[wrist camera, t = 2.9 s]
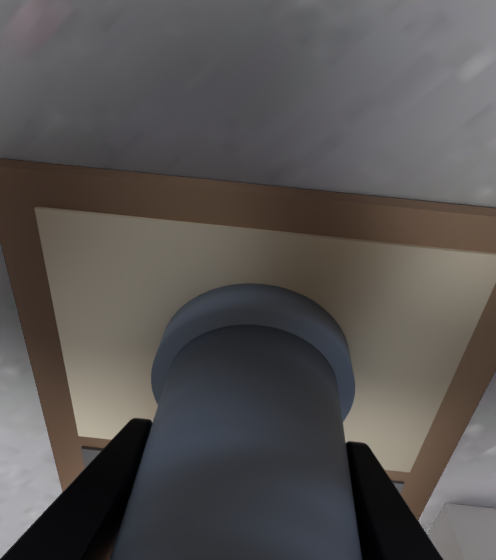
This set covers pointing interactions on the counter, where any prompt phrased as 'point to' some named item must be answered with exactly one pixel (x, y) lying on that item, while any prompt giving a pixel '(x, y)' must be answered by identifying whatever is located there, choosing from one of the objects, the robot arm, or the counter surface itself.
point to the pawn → (246, 435)
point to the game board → (240, 270)
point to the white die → (465, 533)
